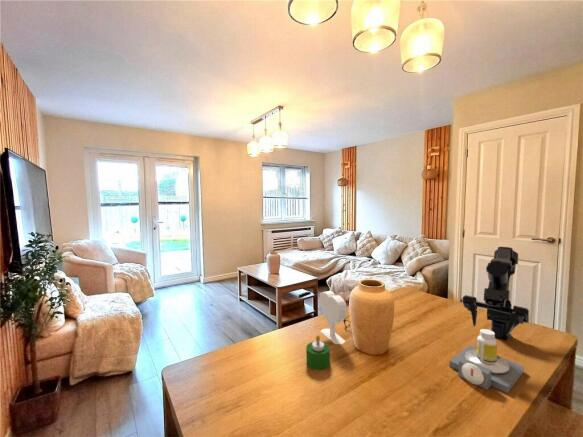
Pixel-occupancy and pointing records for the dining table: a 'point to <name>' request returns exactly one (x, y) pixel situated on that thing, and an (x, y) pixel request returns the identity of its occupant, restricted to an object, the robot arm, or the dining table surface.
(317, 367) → the candle
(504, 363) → the scale pan
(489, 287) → the robot arm
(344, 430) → the dining table surface
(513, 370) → the scale housing
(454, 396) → the dining table surface
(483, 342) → the supplement bottle
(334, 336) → the heart sculpture
